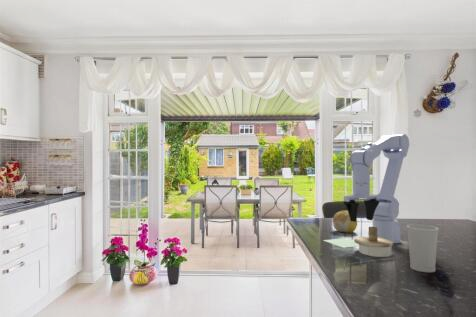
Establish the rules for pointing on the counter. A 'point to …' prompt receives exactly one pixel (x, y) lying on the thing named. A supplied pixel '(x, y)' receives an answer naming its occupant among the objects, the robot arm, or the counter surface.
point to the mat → (343, 242)
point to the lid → (373, 239)
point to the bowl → (375, 251)
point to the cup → (422, 247)
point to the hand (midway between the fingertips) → (361, 220)
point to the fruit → (344, 222)
